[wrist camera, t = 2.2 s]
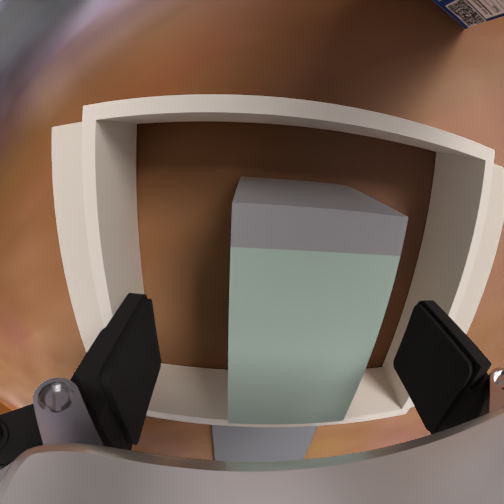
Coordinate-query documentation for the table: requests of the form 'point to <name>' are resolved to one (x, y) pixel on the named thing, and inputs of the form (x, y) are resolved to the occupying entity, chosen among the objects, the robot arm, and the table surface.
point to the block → (305, 297)
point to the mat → (261, 443)
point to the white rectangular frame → (269, 112)
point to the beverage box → (472, 10)
